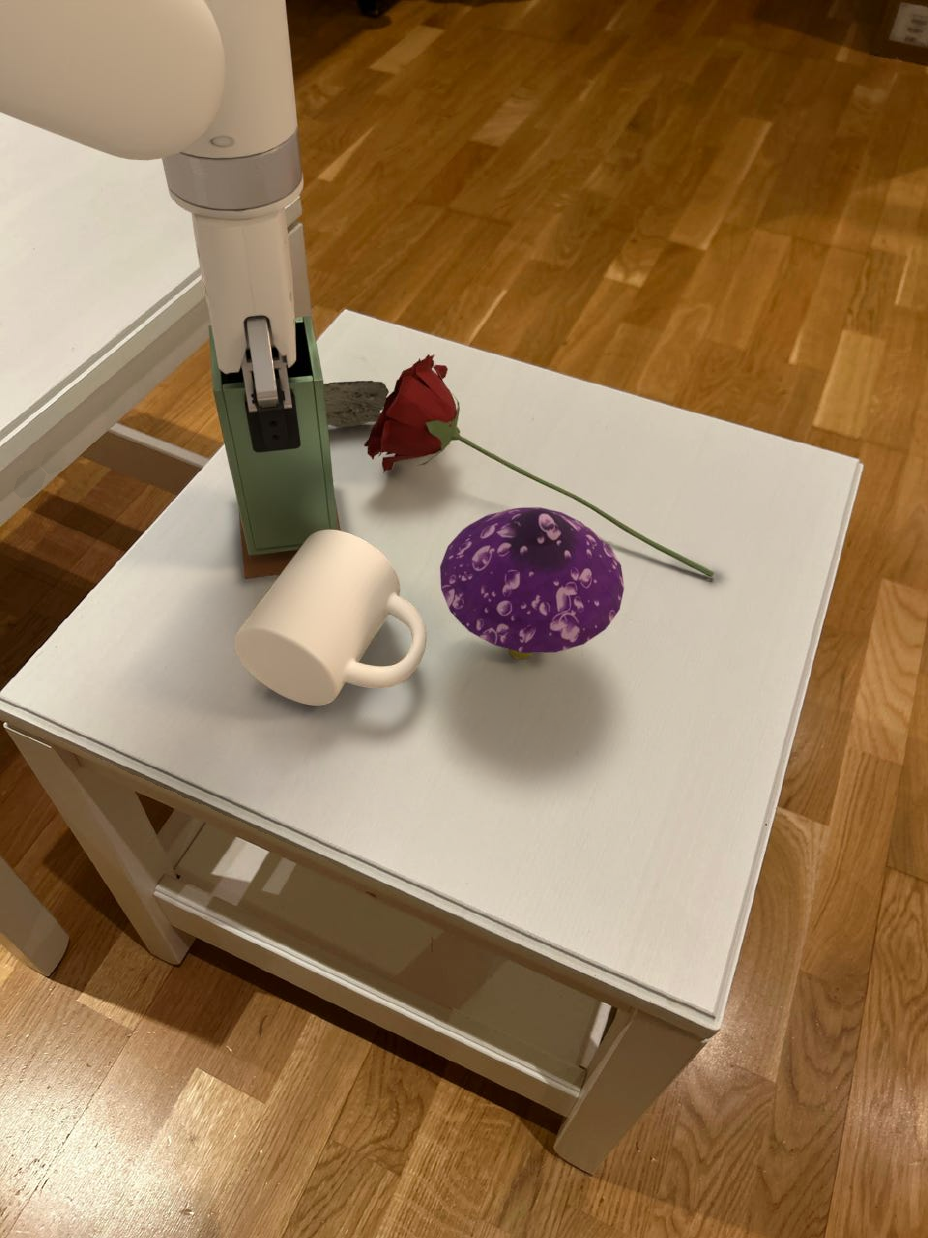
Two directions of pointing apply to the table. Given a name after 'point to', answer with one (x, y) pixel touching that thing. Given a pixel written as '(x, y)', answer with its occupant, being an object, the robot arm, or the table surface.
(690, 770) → the table surface
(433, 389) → the flower
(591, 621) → the decorative mushroom
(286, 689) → the mug
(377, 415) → the stone fragment
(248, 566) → the coaster
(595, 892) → the table surface
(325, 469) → the box
